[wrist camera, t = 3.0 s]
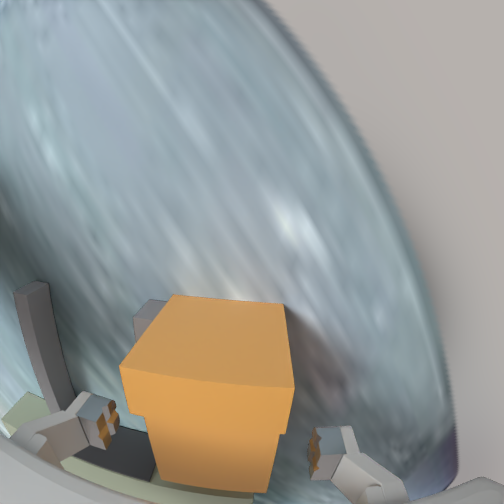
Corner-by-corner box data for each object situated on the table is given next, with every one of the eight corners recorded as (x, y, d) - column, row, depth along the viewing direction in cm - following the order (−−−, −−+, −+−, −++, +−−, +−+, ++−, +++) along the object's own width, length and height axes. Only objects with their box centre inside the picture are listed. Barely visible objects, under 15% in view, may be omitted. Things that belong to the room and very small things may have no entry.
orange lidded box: (174, 293, 13) (118, 366, 7) (283, 302, 13) (294, 388, 7) (182, 415, 15) (156, 494, 9) (267, 424, 15) (265, 509, 9)
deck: (-7, 271, 13) (-115, 327, 4) (272, 311, 13) (280, 530, 3) (64, 463, 18) (25, 529, 8) (246, 509, 18) (239, 600, 8)
